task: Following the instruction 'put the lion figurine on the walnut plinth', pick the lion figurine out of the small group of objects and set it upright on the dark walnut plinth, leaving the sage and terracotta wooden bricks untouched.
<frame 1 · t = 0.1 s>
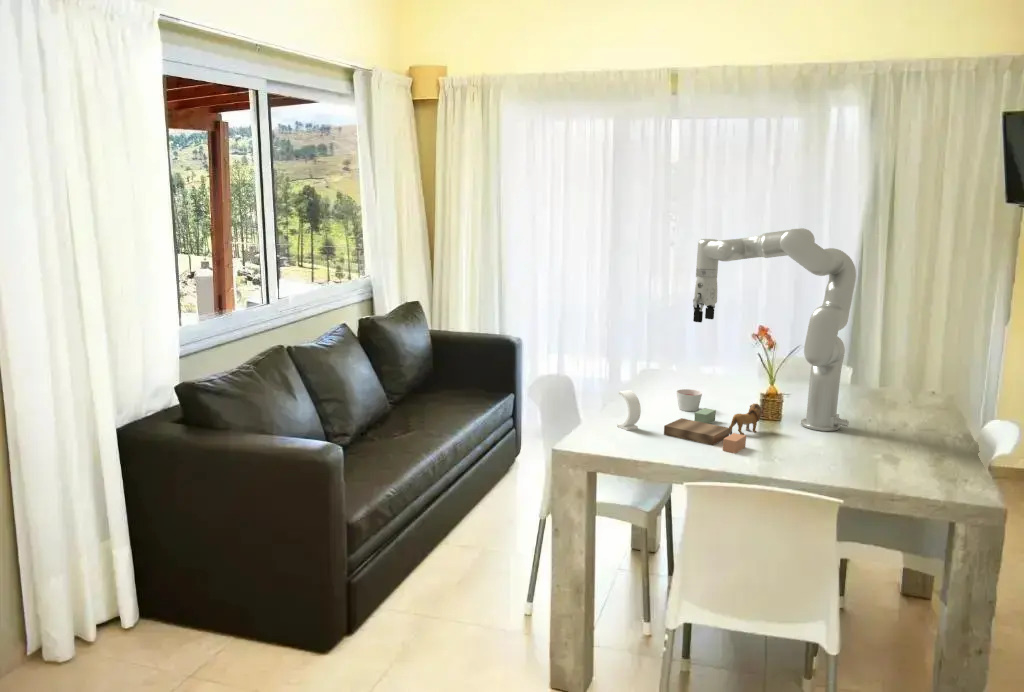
hand: (703, 320, 309), 31 cm above the table, tool pointing down, fingers open, 9 cm apart
sage brick: (704, 422, 290), on the table
lion figurine: (743, 432, 279), on the table
walnut plinth: (696, 435, 274), on the table
terracotta brick: (733, 449, 261), on the table
white crescent moon figurine: (628, 428, 281), on the table
candle: (688, 409, 306), on the table
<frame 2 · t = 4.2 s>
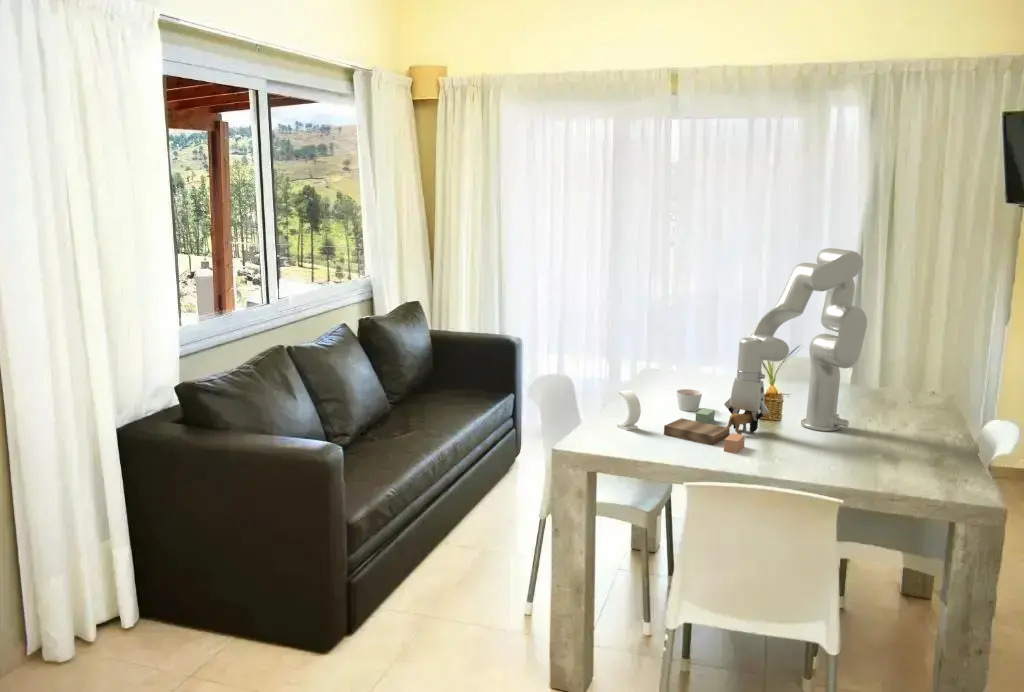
hand: (744, 429, 279), 1 cm above the table, tool pointing down, fingers closed on lion figurine, 5 cm apart
lion figurine: (741, 432, 279), on the table, touching gripper
everything else where it was.
when the fingers open (5 cm above the table, at t = 9.3 s): lion figurine drops 1 cm, resting on walnut plinth.
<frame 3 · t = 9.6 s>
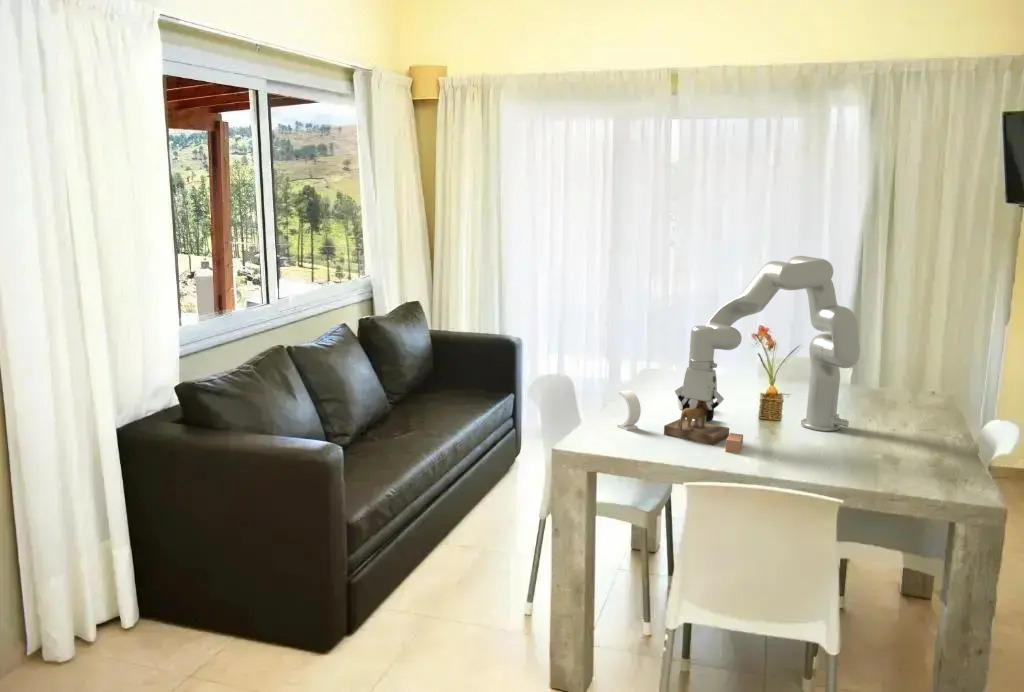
hand: (697, 418, 273), 6 cm above the table, tool pointing down, fingers open, 7 cm apart
lion figurine: (692, 427, 273), point 3 cm above the table, touching walnut plinth
everything else where it was.
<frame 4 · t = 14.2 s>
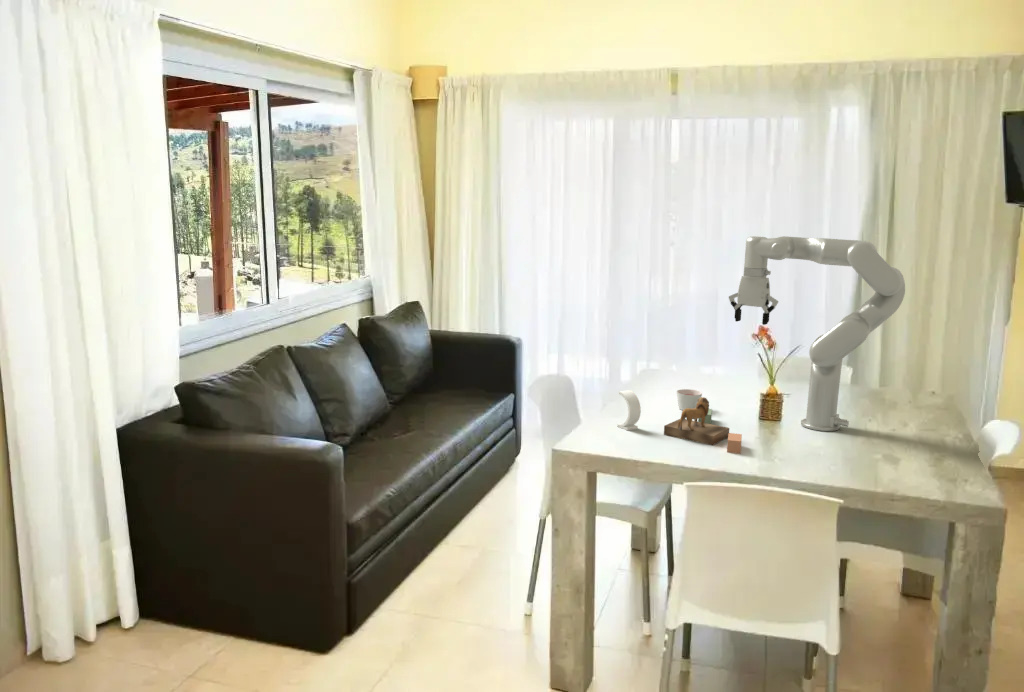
hand: (751, 322, 293), 33 cm above the table, tool pointing down, fingers open, 9 cm apart
nothing on the table moved.
at the end: lion figurine inside the target area on the walnut plinth (1.4 cm from its centre), point 2.8 cm above the walnut plinth's base; lion figurine tilted 0°; sage brick moved 0.2 cm from its start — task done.
